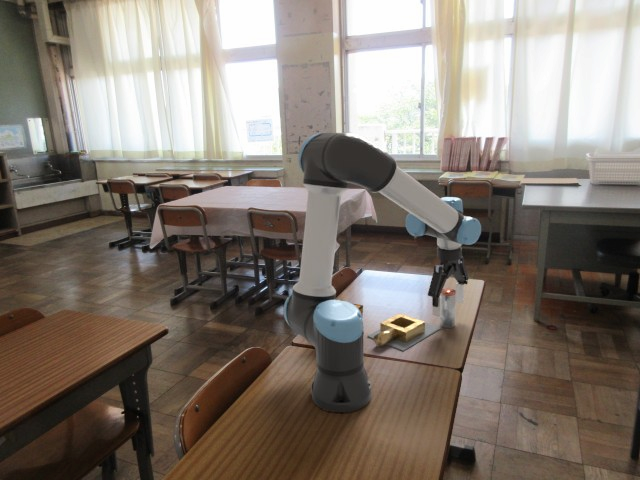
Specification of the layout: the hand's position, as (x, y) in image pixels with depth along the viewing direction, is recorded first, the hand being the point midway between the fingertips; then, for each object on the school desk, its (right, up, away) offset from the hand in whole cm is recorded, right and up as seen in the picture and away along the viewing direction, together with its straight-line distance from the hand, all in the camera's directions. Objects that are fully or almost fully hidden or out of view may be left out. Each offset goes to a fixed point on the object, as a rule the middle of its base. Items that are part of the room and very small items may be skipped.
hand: (448, 308), depth 145 cm
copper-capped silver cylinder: (0, -6, +1) cm, 6 cm away
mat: (-15, -7, -3) cm, 17 cm away
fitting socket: (-18, -8, -6) cm, 21 cm away
